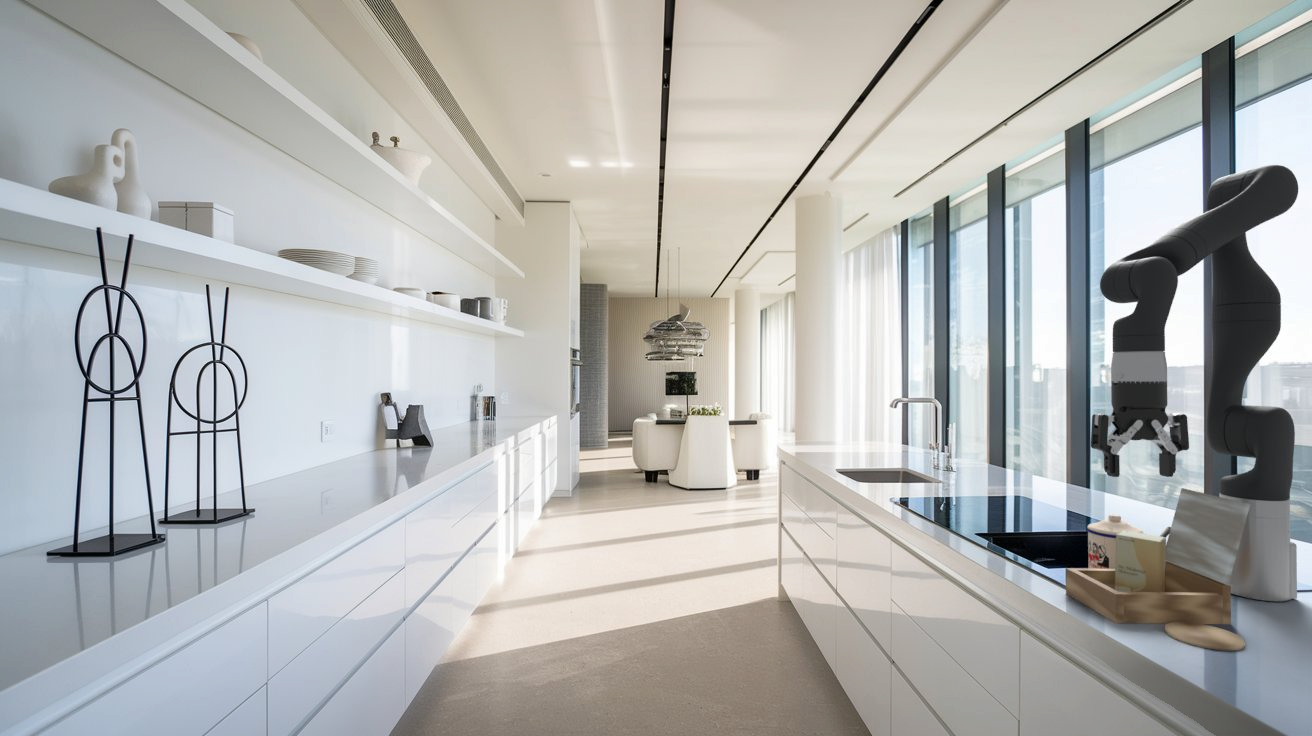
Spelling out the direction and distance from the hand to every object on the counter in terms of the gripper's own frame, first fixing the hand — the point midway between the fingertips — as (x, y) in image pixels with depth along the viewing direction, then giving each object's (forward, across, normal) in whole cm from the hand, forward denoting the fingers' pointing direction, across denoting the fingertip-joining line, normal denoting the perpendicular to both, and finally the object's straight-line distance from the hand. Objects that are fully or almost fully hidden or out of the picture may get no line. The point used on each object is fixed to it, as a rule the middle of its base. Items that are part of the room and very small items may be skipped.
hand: (1139, 476), depth 108 cm
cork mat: (+22, -1, +12) cm, 25 cm away
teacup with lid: (+22, -7, -16) cm, 28 cm away
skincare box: (+22, 0, 0) cm, 22 cm away
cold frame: (+22, -2, -1) cm, 22 cm away
